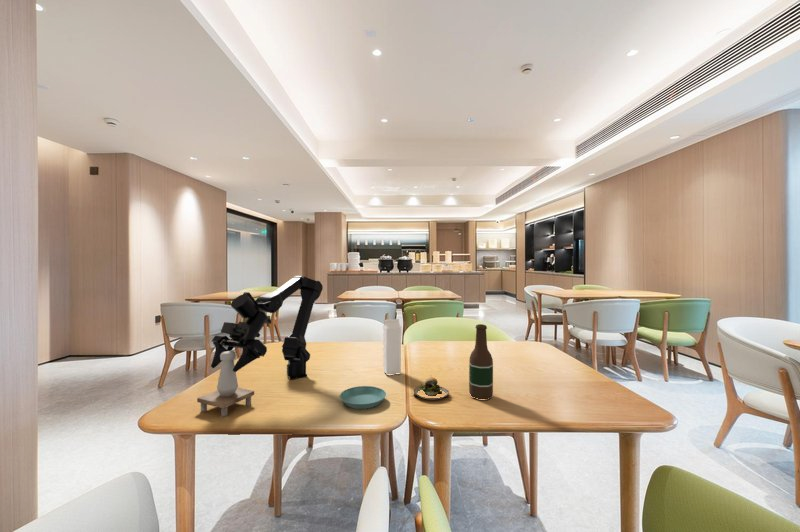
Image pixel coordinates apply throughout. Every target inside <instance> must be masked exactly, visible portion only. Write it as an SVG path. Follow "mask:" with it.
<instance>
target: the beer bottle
mask: <svg viewBox="0 0 800 532" xmlns="http://www.w3.org/2000/svg"><path fill="white" fill-rule="evenodd" d="M475 329H476V330H475V345H474V349H472V351H471V353H470V354H469V355H470V356H469V362H468V368H469V369H468V370H469V371H468V372H469V373H468V381H469V382H468V387H469V388H468V390H469V393H470V394H471V396H472V397H475V398H478V399H488V398H490V397H492V396H493V395H494V360H493V357H492V354H491V353H490V351H489V348H488V341H487V340H488V339H487V329H488V327H487V325H485V324H476V325H475ZM470 394H469V395H470ZM471 396H470V397H471ZM472 397H471V398H472ZM492 398H493V397H492Z"/></svg>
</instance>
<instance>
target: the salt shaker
mask: <svg viewBox="0 0 800 532" xmlns="http://www.w3.org/2000/svg"><path fill="white" fill-rule="evenodd" d="M236 357H237V354H236V352H235V350H231V351H226V352H223V353H221V354H220V359H221V360H222V361H221V365H220V370H219V376H218V380H217V385H216V389H217V390H218V392H219V393H220V395H221V396H222V397H228V396H231V395H234V393H235V392H236V390H237V388H239V383H238V377H237V372H234V371H233V368H234V366H235V361H234V360H235V359H236ZM217 390H216V391H217Z"/></svg>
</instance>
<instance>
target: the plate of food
mask: <svg viewBox="0 0 800 532" xmlns="http://www.w3.org/2000/svg"><path fill="white" fill-rule="evenodd" d="M420 390H423V391H424V392H425V394H426V395H428V396H436V395H437V394H442V391H444V392H445V393H446V395H445V396H444V397H440V398H425V397H421V396H418V394H417V393H418V391H420ZM440 390H442V391H440ZM414 395H415V396H417V397H418V398H421V399H425V400H441V399H443V398H446V397H448V396H449V397H450V393H449V390H448V389H447V388H445V387H442V386H441V385H439V383H438V380H437V378H435V377H432V376H430V377H428V378H426V379H425V381H424V385H422V384H421V385H420V386H417V387H415V388H414V390H413V396H414Z"/></svg>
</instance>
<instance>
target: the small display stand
mask: <svg viewBox="0 0 800 532" xmlns="http://www.w3.org/2000/svg"><path fill="white" fill-rule="evenodd" d="M254 395H255V390H250V389H247V388H240V387H238V388H237V390H236V392H235V393H234V395H231V396H228V397H222V396H221V395H220V393H219V392H218V390H215V391H212V392H209V393H207V394H204V395H202V396H198V397H197V399H196V400H197V401H196V402H197V403H199V404H200V412H201V413H204V412H206V411H208V406H213V407H216V408H220V412H221V414H220V416H221V418H225V417H227V416H228V407H230V406H232V405H234V404H237V403H239V402H242V401H243V400H245V406H251V405H252V396H254Z"/></svg>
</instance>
